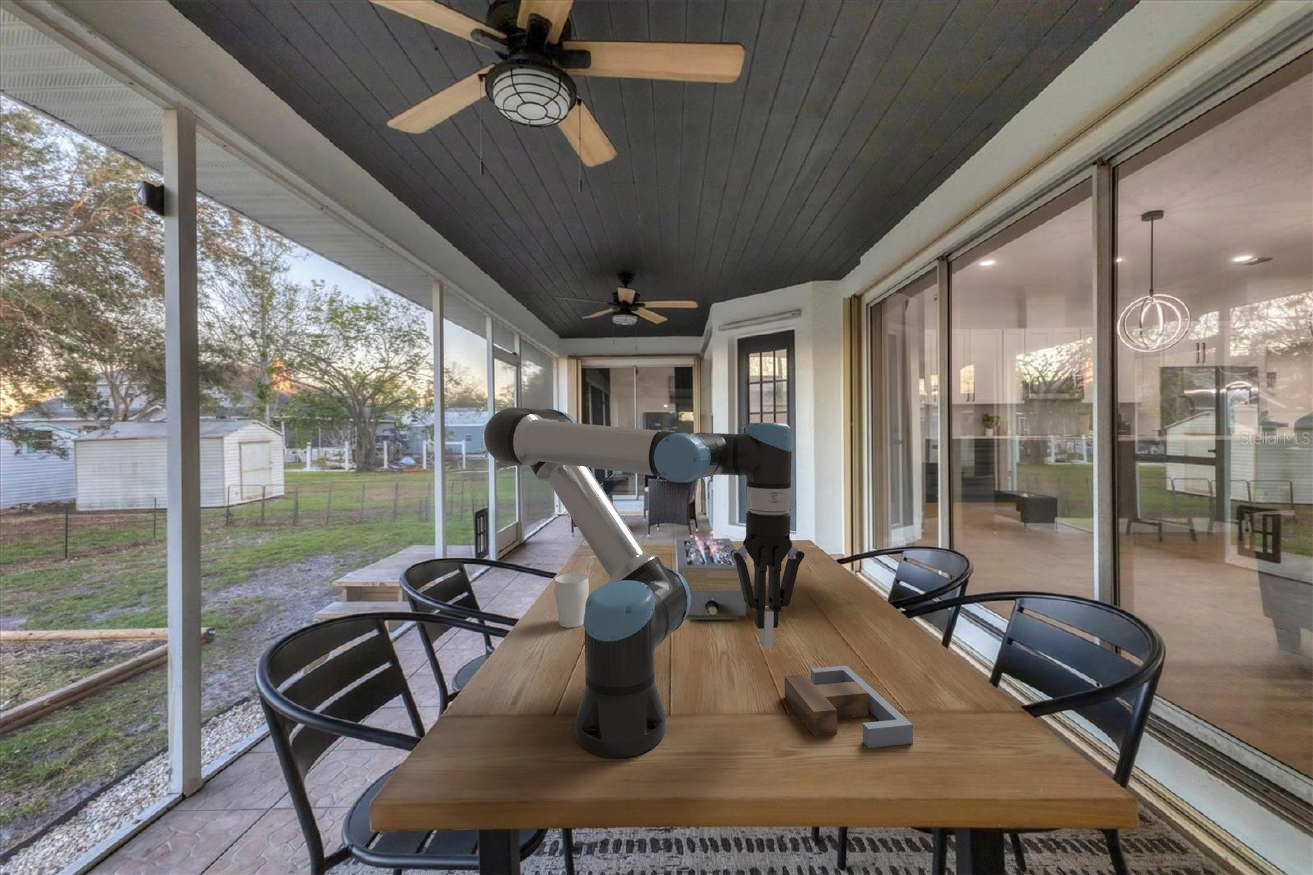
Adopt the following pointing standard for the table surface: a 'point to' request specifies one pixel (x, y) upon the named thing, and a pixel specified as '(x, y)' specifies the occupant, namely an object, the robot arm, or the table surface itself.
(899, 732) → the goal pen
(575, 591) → the cup
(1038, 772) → the table surface
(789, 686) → the walnut T
